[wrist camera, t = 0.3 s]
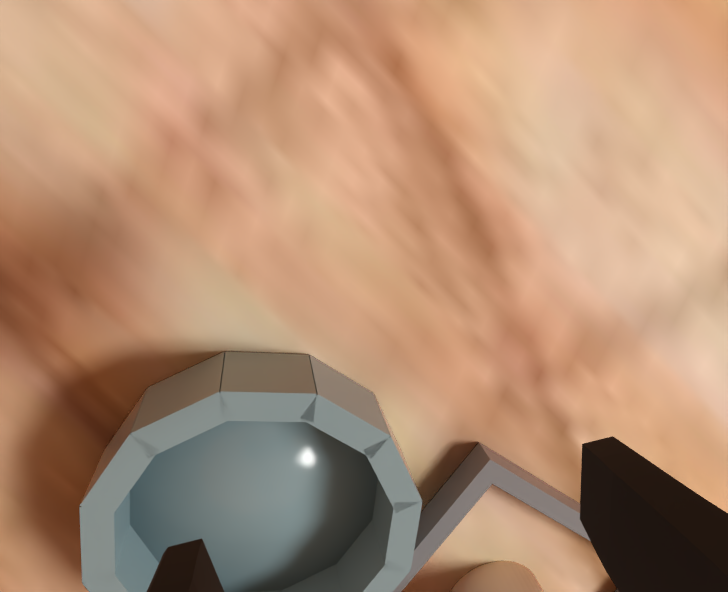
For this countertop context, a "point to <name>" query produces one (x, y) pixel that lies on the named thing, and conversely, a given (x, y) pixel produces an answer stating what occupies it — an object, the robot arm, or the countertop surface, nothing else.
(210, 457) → the bowl
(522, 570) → the pestle
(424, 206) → the countertop surface
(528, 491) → the empty gray rectangular frame
